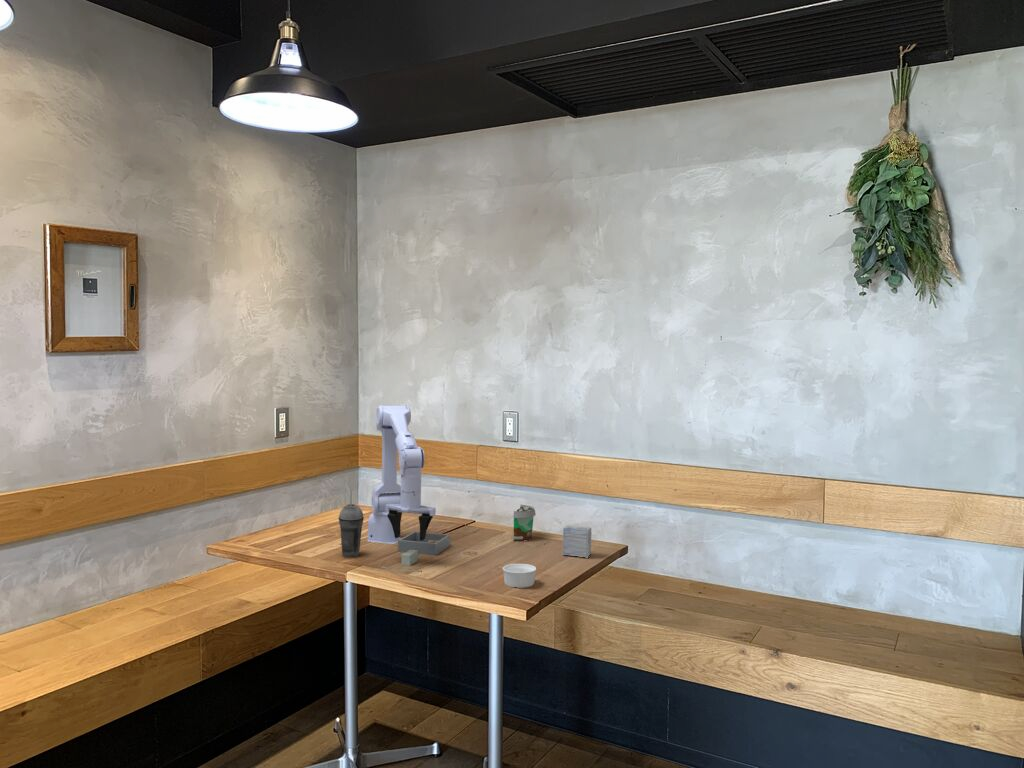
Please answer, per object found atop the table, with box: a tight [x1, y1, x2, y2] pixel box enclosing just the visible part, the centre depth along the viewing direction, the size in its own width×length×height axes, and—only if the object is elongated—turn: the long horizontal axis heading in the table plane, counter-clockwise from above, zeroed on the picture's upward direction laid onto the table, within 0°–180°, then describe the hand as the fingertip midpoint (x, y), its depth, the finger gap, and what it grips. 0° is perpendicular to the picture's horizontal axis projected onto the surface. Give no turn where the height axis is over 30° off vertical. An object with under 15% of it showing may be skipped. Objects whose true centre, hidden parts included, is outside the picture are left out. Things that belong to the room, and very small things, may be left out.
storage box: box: [397, 531, 451, 556], centre depth 234 cm, size 12×12×4 cm
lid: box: [380, 550, 423, 573], centre depth 218 cm, size 12×12×4 cm
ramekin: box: [502, 563, 537, 589], centre depth 203 cm, size 9×9×4 cm
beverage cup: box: [338, 488, 365, 559], centre depth 224 cm, size 7×7×20 cm
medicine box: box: [562, 524, 592, 557], centre depth 232 cm, size 8×4×9 cm, turn 71°
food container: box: [512, 504, 537, 542], centre depth 252 cm, size 12×6×10 cm, turn 168°
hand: (409, 538), depth 218 cm, fingers open, 7 cm apart
